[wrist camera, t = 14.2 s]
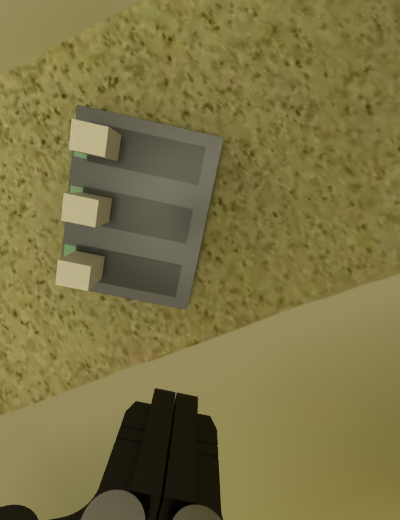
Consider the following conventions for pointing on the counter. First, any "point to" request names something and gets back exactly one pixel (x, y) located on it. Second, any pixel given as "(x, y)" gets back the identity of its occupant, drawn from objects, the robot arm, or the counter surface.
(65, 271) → the block
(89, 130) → the block
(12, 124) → the counter surface
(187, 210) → the breaker panel
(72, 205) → the block
